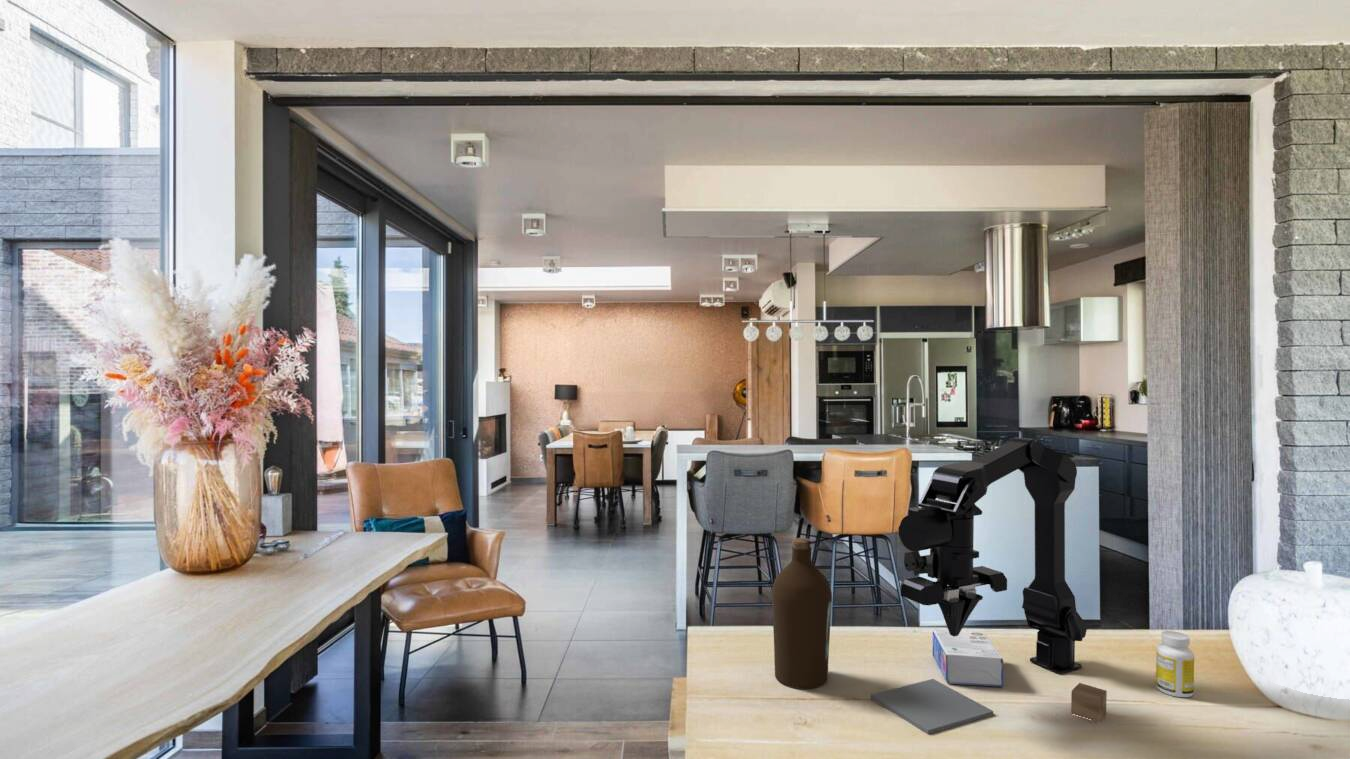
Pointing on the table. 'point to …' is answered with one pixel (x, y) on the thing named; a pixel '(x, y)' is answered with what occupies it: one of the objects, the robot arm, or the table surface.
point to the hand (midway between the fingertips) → (953, 635)
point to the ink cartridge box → (967, 658)
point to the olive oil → (801, 621)
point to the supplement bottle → (1175, 665)
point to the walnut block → (1089, 702)
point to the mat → (931, 705)
